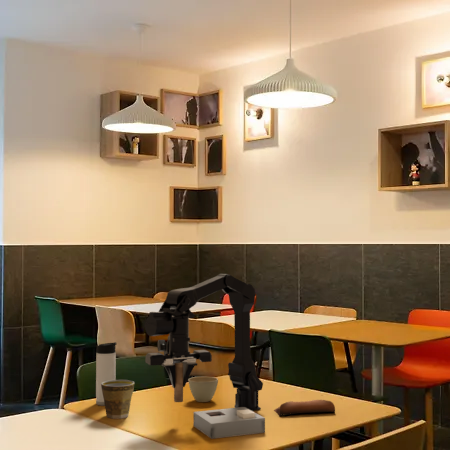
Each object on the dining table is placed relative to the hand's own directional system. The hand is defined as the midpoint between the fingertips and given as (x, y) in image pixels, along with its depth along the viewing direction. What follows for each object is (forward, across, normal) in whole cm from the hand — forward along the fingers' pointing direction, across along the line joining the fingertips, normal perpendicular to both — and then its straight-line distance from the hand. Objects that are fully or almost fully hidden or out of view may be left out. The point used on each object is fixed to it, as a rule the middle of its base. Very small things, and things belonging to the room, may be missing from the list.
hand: (178, 387), depth 197 cm
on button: (+7, -15, +14) cm, 22 cm away
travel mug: (+11, +14, -33) cm, 37 cm away
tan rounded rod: (+4, 0, 0) cm, 4 cm away
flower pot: (+11, -17, -25) cm, 32 cm away
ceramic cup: (+11, +15, -17) cm, 25 cm away
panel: (+10, -11, +11) cm, 19 cm away
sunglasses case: (+11, -40, +2) cm, 42 cm away
